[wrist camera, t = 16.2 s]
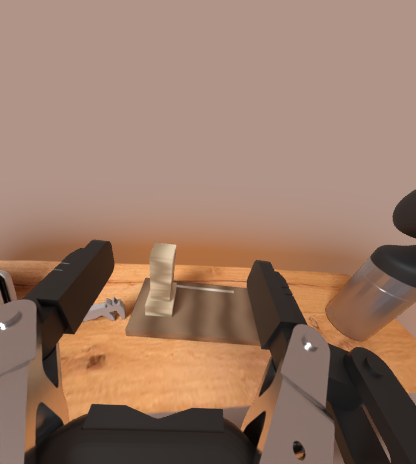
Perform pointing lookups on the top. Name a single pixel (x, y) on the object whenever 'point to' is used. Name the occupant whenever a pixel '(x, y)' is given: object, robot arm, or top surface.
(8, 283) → the grey toaster
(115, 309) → the caliper
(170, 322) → the board
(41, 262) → the top surface
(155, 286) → the beige tall block
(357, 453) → the robot arm
